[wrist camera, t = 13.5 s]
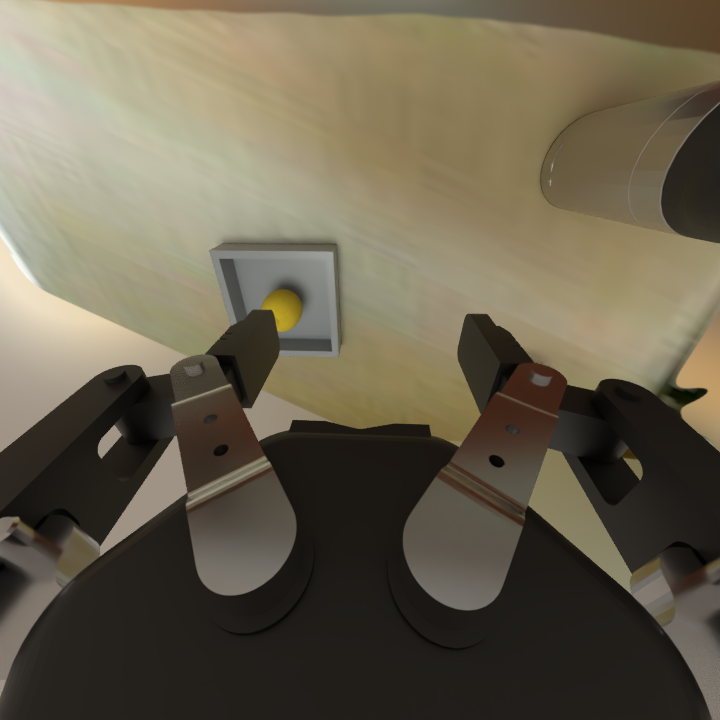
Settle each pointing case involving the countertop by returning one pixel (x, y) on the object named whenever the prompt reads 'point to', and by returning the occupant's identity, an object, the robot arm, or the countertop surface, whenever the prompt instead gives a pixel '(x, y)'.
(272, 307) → the lemon
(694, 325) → the countertop surface
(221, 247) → the box
